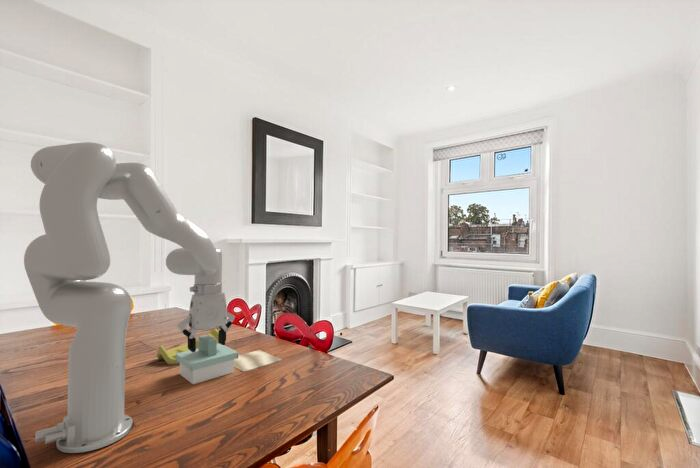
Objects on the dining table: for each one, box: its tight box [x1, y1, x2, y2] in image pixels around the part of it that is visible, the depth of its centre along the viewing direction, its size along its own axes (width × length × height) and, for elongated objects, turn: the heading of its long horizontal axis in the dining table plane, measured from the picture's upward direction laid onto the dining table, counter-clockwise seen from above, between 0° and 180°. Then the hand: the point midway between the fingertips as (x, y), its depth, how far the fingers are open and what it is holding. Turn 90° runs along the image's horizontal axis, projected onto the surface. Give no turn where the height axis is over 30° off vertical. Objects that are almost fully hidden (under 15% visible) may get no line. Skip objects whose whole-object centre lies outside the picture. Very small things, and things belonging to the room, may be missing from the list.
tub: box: [179, 359, 235, 385], centre depth 101 cm, size 12×10×6 cm
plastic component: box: [155, 328, 219, 365], centre depth 117 cm, size 20×7×10 cm
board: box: [234, 349, 283, 373], centre depth 112 cm, size 14×14×1 cm
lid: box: [175, 334, 239, 371], centre depth 101 cm, size 14×12×6 cm
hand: (207, 347), depth 101 cm, fingers open, 8 cm apart
